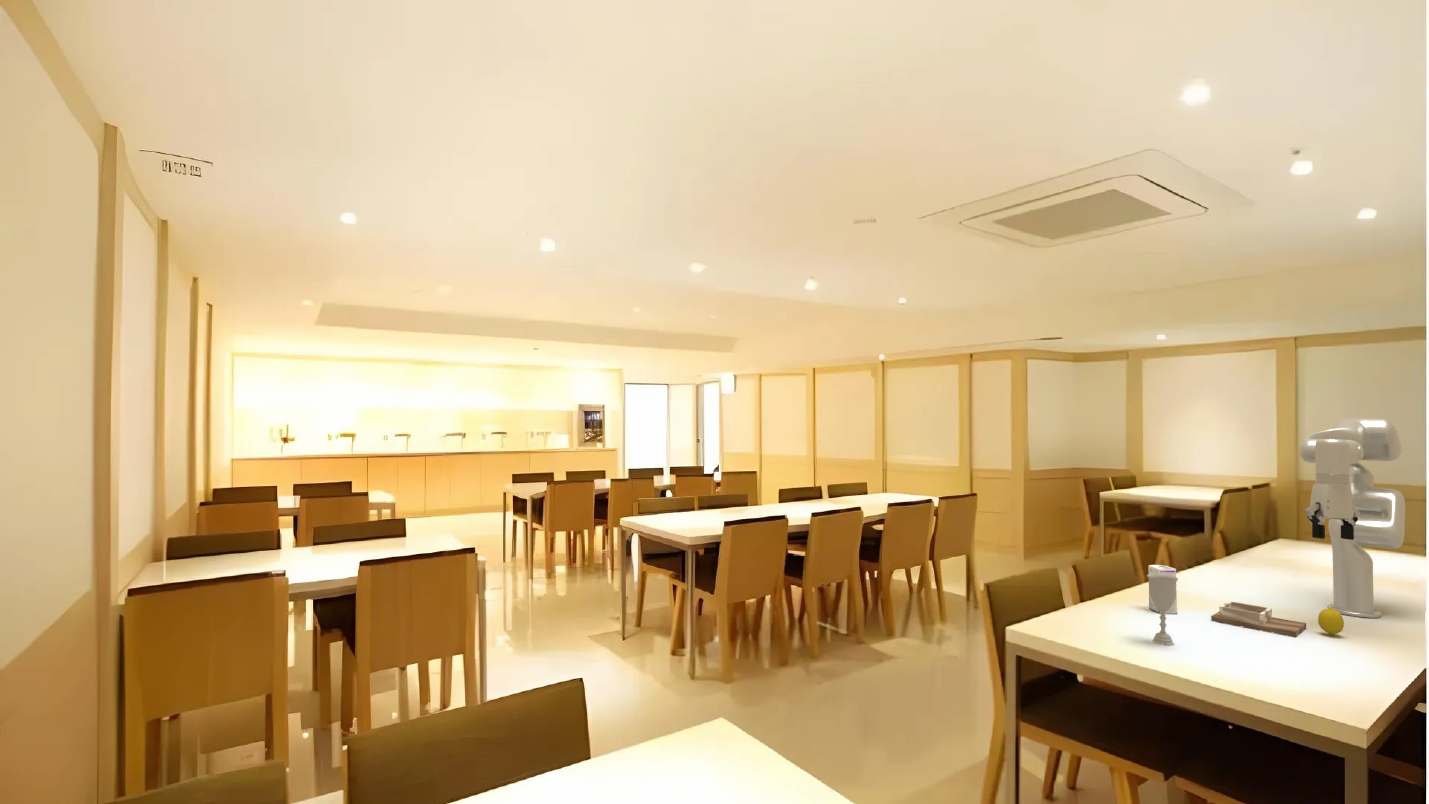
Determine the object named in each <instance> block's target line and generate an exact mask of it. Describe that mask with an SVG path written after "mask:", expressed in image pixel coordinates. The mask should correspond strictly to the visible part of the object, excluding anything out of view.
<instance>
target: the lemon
mask: <svg viewBox="0 0 1429 804" xmlns="http://www.w3.org/2000/svg"><path fill="white" fill-rule="evenodd" d="M1317 622H1318V625H1319V627H1320V629H1321V630H1322V631H1324V632H1326V633H1327V634H1328V635H1329V636H1331V635H1332V636H1335V635H1336V634H1339V633H1341V632H1342V631H1343V630H1344V628H1345V627H1344V626H1345V621H1344V618H1343V614H1340V613H1339V612H1338V611H1336V610H1334V609H1333V608H1328V609H1327V608H1324V609H1322V610H1321V611H1320V612H1319V613H1318V617H1317Z"/></svg>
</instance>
